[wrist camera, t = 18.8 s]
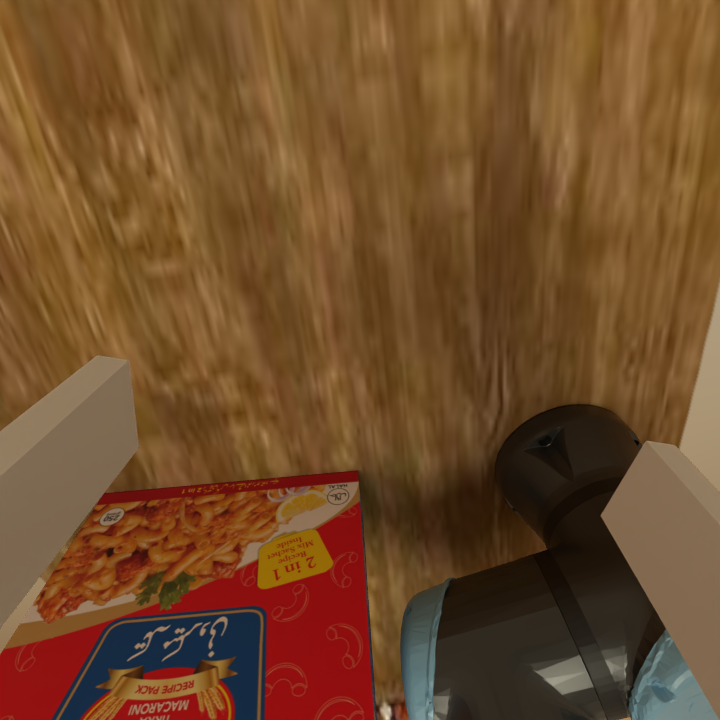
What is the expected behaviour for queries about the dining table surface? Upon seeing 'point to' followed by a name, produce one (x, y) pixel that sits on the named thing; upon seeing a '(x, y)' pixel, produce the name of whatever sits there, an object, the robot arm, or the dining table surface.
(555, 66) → the dining table surface
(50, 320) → the dining table surface
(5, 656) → the pasta box
